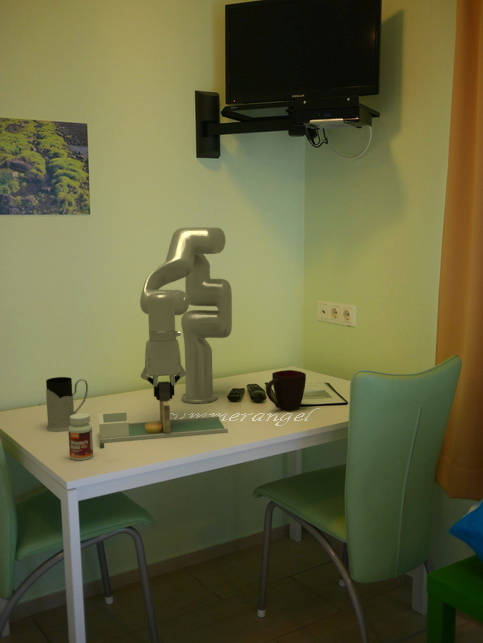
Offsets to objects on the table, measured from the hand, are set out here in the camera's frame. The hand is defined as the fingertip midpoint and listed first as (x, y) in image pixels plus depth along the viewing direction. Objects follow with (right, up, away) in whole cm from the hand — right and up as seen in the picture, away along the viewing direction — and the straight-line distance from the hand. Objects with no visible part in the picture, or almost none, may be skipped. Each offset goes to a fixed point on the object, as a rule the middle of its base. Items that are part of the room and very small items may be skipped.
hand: (164, 397), depth 192 cm
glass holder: (-31, -10, +13) cm, 35 cm away
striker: (0, -9, +1) cm, 9 cm away
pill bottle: (-20, -14, -16) cm, 29 cm away
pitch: (-1, -11, +2) cm, 11 cm away
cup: (+37, -7, +27) cm, 46 cm away
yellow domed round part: (-3, -10, +1) cm, 10 cm away
